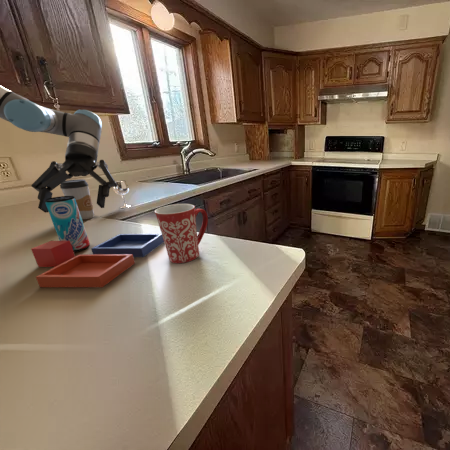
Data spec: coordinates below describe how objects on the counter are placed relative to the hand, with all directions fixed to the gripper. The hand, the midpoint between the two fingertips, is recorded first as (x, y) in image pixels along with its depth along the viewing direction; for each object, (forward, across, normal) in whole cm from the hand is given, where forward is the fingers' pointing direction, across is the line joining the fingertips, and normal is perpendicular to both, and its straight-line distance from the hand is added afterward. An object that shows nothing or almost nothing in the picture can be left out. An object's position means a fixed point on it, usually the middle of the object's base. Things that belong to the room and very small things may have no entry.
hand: (72, 207), depth 70 cm
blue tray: (+14, -15, -2) cm, 21 cm away
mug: (+21, -32, +5) cm, 39 cm away
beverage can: (+11, 0, -5) cm, 12 cm away
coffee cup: (-15, +14, -31) cm, 37 cm away
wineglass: (-25, +3, -41) cm, 48 cm away
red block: (+16, +1, 0) cm, 17 cm away
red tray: (+24, -11, +8) cm, 27 cm away
